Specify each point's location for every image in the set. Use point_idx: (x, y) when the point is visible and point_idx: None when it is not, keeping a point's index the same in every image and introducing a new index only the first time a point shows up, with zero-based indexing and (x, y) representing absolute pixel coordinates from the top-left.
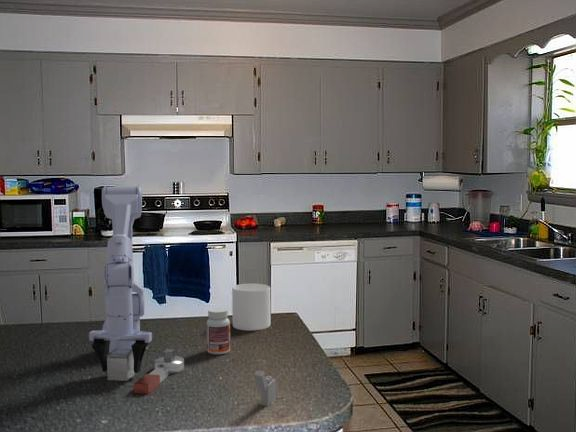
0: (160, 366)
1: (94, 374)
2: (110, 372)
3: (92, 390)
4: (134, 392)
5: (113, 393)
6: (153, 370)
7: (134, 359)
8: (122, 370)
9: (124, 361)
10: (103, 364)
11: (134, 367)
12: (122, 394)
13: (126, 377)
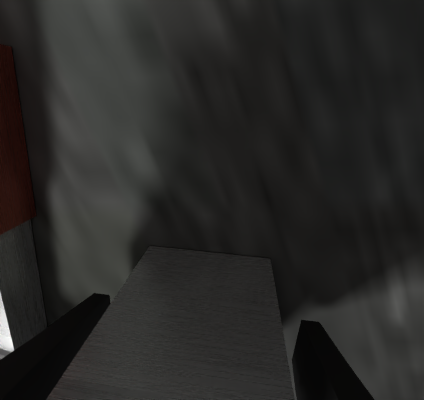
0: (2, 356)
1: (374, 335)
2: (252, 288)
3: (323, 74)
4: (4, 45)
5: (144, 25)
6: (3, 309)
7: (16, 373)
8: (157, 290)
9: (105, 353)
10: (327, 365)
11: (78, 317)
12: (73, 11)
13: (147, 256)
